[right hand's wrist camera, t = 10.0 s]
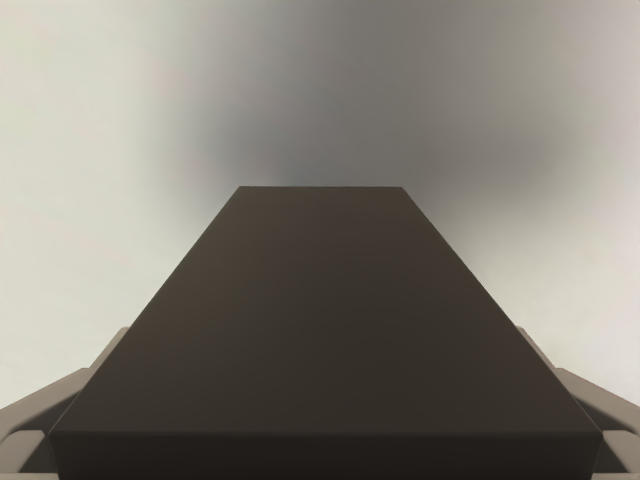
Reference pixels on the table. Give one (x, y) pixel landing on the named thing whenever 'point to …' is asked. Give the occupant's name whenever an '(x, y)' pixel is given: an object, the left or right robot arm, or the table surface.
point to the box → (323, 360)
